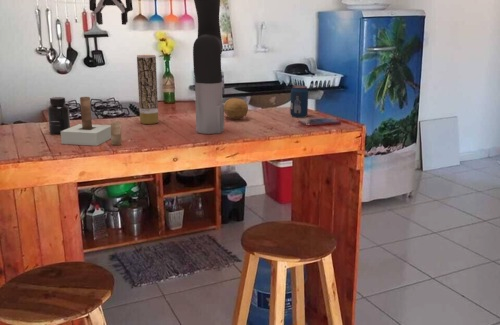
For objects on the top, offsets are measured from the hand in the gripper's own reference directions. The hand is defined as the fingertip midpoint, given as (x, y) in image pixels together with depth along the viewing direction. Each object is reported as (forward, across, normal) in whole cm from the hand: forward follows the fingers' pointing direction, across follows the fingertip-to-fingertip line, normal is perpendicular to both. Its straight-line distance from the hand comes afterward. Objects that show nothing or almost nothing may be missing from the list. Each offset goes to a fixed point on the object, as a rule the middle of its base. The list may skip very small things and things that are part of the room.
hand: (112, 24), depth 176 cm
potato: (+36, -36, -29) cm, 59 cm away
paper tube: (+36, -6, -14) cm, 39 cm away
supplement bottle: (+36, +18, +8) cm, 41 cm away
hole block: (+36, +3, +17) cm, 40 cm away
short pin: (+36, -8, +20) cm, 42 cm away
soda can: (+36, -60, -39) cm, 80 cm away
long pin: (+36, +3, +17) cm, 40 cm away
